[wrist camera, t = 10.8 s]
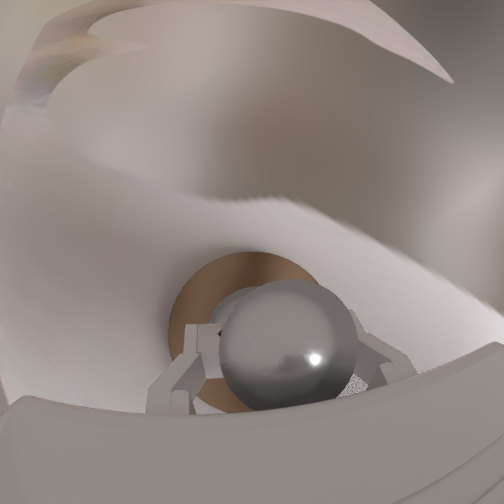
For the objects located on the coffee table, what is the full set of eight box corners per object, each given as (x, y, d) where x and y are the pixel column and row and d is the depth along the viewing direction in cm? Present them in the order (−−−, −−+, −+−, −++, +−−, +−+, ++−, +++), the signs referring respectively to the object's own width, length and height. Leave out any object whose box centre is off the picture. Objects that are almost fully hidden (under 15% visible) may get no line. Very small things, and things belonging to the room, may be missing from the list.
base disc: (319, 252, 22) (326, 247, 21) (333, 397, 19) (340, 402, 18) (169, 261, 21) (165, 256, 20) (180, 413, 18) (177, 419, 17)
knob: (299, 285, 19) (371, 242, 9) (308, 377, 17) (385, 420, 8) (204, 291, 18) (179, 253, 8) (212, 387, 16) (197, 453, 7)
